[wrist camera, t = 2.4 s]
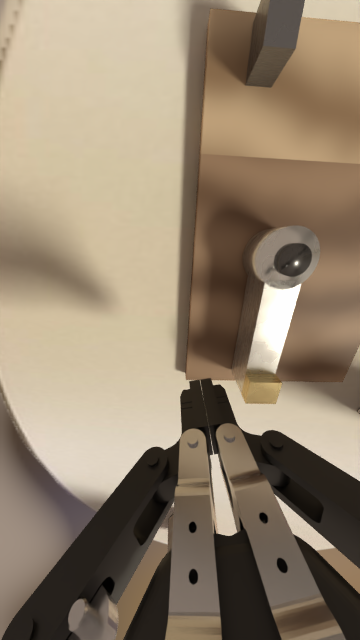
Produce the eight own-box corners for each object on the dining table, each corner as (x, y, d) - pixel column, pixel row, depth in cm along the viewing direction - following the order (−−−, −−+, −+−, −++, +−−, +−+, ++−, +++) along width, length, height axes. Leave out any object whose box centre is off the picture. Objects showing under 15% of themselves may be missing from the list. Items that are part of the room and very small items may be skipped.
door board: (207, 29, 13) (210, 8, 11) (474, 53, 13) (502, 36, 12) (185, 373, 23) (186, 379, 22) (334, 375, 24) (342, 382, 23)
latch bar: (247, 227, 16) (274, 222, 12) (297, 230, 16) (343, 225, 12) (224, 370, 22) (237, 403, 17) (262, 371, 22) (284, 403, 17)
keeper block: (253, 22, 12) (275, -40, 9) (281, 25, 12) (311, -37, 9) (245, 85, 13) (263, 45, 10) (271, 87, 13) (295, 48, 10)
